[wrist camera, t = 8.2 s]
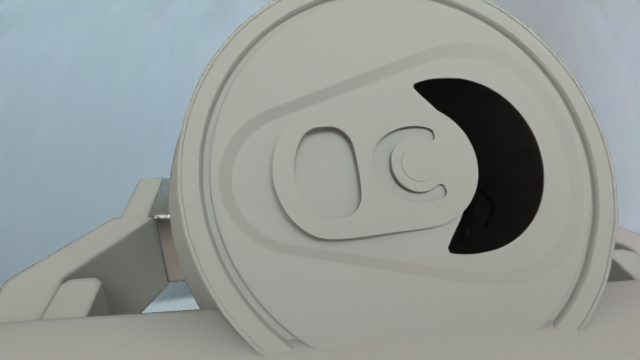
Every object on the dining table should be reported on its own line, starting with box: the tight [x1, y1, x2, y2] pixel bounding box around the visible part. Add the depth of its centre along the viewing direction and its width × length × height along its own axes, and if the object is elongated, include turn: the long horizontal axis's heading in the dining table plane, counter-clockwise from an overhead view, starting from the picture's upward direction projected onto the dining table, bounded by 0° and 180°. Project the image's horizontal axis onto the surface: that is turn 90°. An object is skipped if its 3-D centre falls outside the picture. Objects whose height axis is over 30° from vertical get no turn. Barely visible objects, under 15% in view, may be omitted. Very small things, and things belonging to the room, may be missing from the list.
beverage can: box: [169, 0, 618, 356], centre depth 11 cm, size 6×6×12 cm
